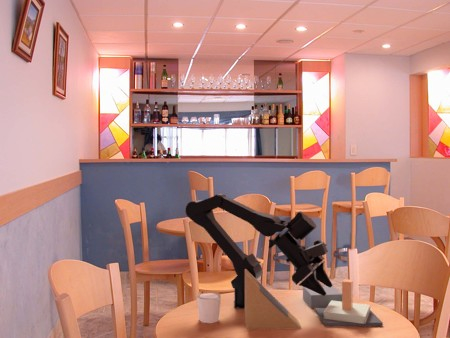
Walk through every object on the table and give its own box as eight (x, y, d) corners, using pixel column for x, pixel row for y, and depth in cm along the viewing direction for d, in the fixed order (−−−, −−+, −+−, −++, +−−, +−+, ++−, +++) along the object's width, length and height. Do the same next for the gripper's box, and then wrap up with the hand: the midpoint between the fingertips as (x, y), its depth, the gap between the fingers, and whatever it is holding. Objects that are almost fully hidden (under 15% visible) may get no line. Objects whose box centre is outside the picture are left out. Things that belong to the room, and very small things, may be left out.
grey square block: (311, 308, 150) (311, 295, 150) (302, 298, 160) (302, 286, 160) (342, 307, 151) (342, 294, 151) (332, 297, 161) (332, 285, 161)
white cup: (193, 322, 138) (193, 297, 138) (202, 314, 144) (202, 291, 144) (215, 325, 136) (215, 300, 135) (224, 317, 142) (224, 293, 142)
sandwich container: (302, 329, 132) (303, 275, 132) (246, 330, 132) (246, 275, 132) (297, 319, 141) (297, 267, 141) (244, 319, 141) (244, 268, 140)
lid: (323, 318, 138) (323, 283, 138) (331, 306, 148) (331, 274, 148) (365, 324, 133) (365, 287, 133) (370, 311, 144) (370, 277, 144)
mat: (324, 326, 134) (324, 323, 134) (315, 311, 147) (315, 308, 147) (382, 326, 135) (382, 322, 134) (367, 310, 148) (367, 307, 147)
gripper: (303, 237, 136) (343, 281, 132) (318, 228, 153) (353, 266, 149) (276, 262, 139) (313, 306, 135) (293, 250, 156) (327, 288, 152)
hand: (328, 290), depth 143 cm, fingers open, 9 cm apart
